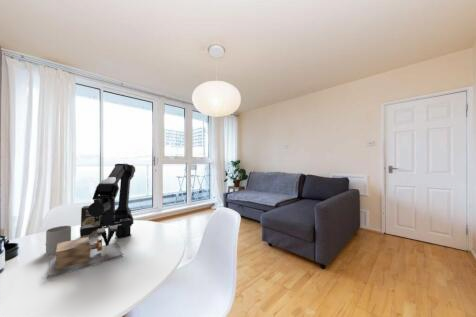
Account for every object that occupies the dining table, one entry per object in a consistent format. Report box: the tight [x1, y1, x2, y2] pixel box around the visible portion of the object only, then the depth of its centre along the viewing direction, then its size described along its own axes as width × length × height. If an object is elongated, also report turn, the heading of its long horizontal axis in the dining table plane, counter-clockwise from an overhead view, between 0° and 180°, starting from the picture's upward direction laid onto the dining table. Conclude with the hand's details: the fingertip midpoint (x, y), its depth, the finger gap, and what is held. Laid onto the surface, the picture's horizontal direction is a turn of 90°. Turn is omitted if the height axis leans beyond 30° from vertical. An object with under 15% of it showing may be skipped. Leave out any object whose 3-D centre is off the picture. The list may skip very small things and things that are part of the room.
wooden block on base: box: [46, 237, 124, 279], centre depth 80 cm, size 23×16×8 cm
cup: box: [45, 225, 72, 256], centre depth 87 cm, size 8×8×10 cm
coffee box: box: [80, 205, 101, 239], centre depth 106 cm, size 9×6×16 cm
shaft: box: [90, 238, 103, 251], centre depth 79 cm, size 14×5×5 cm, turn 131°
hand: (107, 245), depth 85 cm, fingers closed
